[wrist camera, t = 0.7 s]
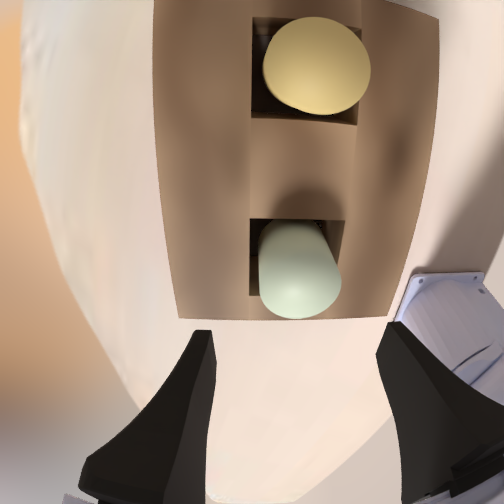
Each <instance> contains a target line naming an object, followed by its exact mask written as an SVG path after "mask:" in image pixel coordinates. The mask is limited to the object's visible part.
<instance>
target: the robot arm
mask: <svg viewBox="0 0 504 504" xmlns="http://www.w3.org/2000/svg"><path fill="white" fill-rule="evenodd" d="M484 277H485V274H484V273H483V272H464V273H434V274H414V275H413V276H412V277H411V278H410V281H409V284H408V287H407V289H406V292H405V295H404V297H403V300H402V303H401V305H400V308H399V310H398V313H397V315H396V318H395V320H394V322H388V323H387V326H386V329H385V332H384V334H383V337H382V339H381V342H380V344H379V347H378V349H377V352H376V359H377V364H378V368H379V373H380V377H381V380H382V383H383V386H384V389H385V392H386V395H387V398H388V401H389V404H390V407H391V410H392V413H393V416H394V419H395V423H396V429H397V434H398V440H399V447H400V456H401V472H402V495H401V501H402V504H414V503H415V504H504V309H503V308H502V307H501V305H500V304H499V303H498V302H497V300H496V299H495V298H494V297H493V295H492V294H491V293H490V292H489V290H488V289H487V288H486V287H485V286H484V284H483V283H482V282H483V280H484ZM420 279H421V280H420ZM419 280H420V281H419ZM216 366H217V361H216V355H215V349H214V343H213V337H212V331H211V330H195V331H194V332H193V334H192V337H191V339H190V341H189V343H188V345H187V346H186V348H185V350H184V352H183V354H182V355H181V357H180V359H179V360H178V362H177V364H176V365H175V367H174V369H173V370H172V372H171V373H170V375H169V376H168V378H167V379H166V381H165V382H164V383H163V385H162V386H161V388H160V389H159V390H158V392H157V393H156V394H155V396H154V397H153V398H152V399H151V401H150V402H149V403H148V404H147V405H146V407H145V408H144V409H143V410H142V411H141V412H140V413H139V414H138V416H136V417H135V418H134V419H133V420H132V422H131V423H130V424H129V425H127V426H126V427H125V428H124V429H123V430H122V431H121V432H120V433H118V434H117V435H116V436H115V437H114V438H113V439H111V440H110V441H109V442H108V443H106V444H105V445H104V446H102V447H101V448H100V449H98V450H97V451H95V452H94V453H93V454H91V455H90V456H88V457H87V459H86V461H85V464H84V466H83V468H82V472H81V476H80V480H79V484H78V487H79V489H80V490H81V491H83V492H85V493H86V494H88V495H90V496H93V497H94V498H96V499H98V504H205V472H206V446H207V434H208V427H209V421H210V415H211V409H212V403H213V397H214V391H215V385H216ZM430 497H431V498H430ZM425 499H426V500H425ZM422 500H423V501H422ZM417 502H418V503H417ZM62 504H93V503H90V502H88V501H85V500H82V499H80V498H77V497H74V496H72V495H69V494H64V499H63V503H62Z"/></svg>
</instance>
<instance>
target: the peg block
mask: <svg viewBox="0 0 504 504" xmlns="http://www.w3.org/2000/svg"><path fill="white" fill-rule="evenodd" d="M306 17H322V18H327V19H330V20H333V21H336V22H338V23H340V24H342V25H344V26H345V27H347V28H348V29H350V30H351V31H352V32H353V33H354V34H355V35H356V36H357V37H358V38H359V39H360V41H361V42H362V44H363V45H364V47H365V49H366V51H367V53H368V56H369V60H370V66H371V74H370V80H369V84H368V87H367V89H366V91H365V93H364V94H363V96H362V97H361V98H360V100H359V101H357V102H356V103H355V104H354V105H353V106H351V107H350V108H348V109H346V110H344V111H341V112H339V113H334V114H333V117H330V116H320V115H308V114H293V113H272V112H251V76H252V35H275V34H276V33H277V32H278V31H279V30H280V29H281V28H282V27H283V26H285V25H286V24H288V23H290V22H292V21H294V20H297V19H300V18H306ZM438 83H439V19H437V18H434V17H432V16H429V15H427V14H424V13H421V12H419V11H416V10H413V9H410V8H407V7H404V6H401V5H398V4H395V3H392V2H388V1H385V0H154V14H153V107H154V127H155V143H156V156H157V168H158V179H159V189H160V198H161V207H162V215H163V223H164V231H165V238H166V245H167V252H168V259H169V265H170V271H171V277H172V283H173V289H174V294H175V300H176V305H177V311H178V316H179V318H186V319H212V320H318V319H344V318H364V317H379V316H387V314H388V312H389V309H390V306H391V304H392V301H393V298H394V295H395V293H396V290H397V287H398V284H399V281H400V278H401V275H402V272H403V269H404V265H405V262H406V259H407V256H408V252H409V249H410V245H411V242H412V238H413V235H414V231H415V227H416V223H417V219H418V215H419V211H420V207H421V202H422V198H423V193H424V188H425V184H426V179H427V173H428V168H429V162H430V156H431V150H432V143H433V136H434V128H435V119H436V110H437V98H438ZM250 218H270V219H315V220H323V223H322V233H323V235H324V238H325V240H326V242H327V244H328V247H329V249H330V251H331V253H332V256H333V258H334V260H335V263H336V265H337V268H338V270H339V272H340V275H341V289H340V292H339V294H338V296H337V298H336V300H335V301H334V302H333V303H332V304H331V305H330V306H329V307H328V308H327V309H326V310H324V311H322V312H321V313H319V314H317V315H314V316H311V317H307V318H302V319H291V318H285V317H281V316H279V315H276V314H275V313H273V312H271V311H270V310H269V309H268V308H267V307H266V306H265V305H264V303H263V301H262V299H261V296H260V287H259V261H258V256H249V237H250Z"/></svg>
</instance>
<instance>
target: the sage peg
mask: <svg viewBox="0 0 504 504" xmlns="http://www.w3.org/2000/svg"><path fill="white" fill-rule="evenodd" d="M258 261H259V287H260V296H261V299H262V301H263V303H264V305H265V306H266V307H267V308H268V309H269V310H270V311H271V312H273V313H275V314H276V315H279V316H281V317H285V318H291V319H302V318H307V317H311V316H314V315H317V314H319V313H321V312H322V311H324V310H326V309H327V308H328V307H329V306H330V305H331V304H332V303H333V302H334V301H335V300H336V298H337V296H338V294H339V292H340V289H341V275H340V272H339V270H338V268H337V265H336V263H335V260H334V258H333V256H332V253H331V251H330V249H329V247H328V244H327V242H326V240H325V238H324V235H323V233H322V231H321V229H320V227H319V226H318V225H317V224H316V223H315V222H314V221H312V220H311V219H275V220H273V221H271V222H270V223H269V224H268V225H267V226H266V227H265V228H264V229H263V231H262V232H261V234H260V237H259V240H258Z"/></svg>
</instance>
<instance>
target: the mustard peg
mask: <svg viewBox="0 0 504 504" xmlns="http://www.w3.org/2000/svg"><path fill="white" fill-rule="evenodd" d="M370 74H371V66H370V60H369V56H368V53H367V51H366V49H365V47H364V45H363V44H362V42H361V41H360V39H359V38H358V37H357V36H356V35H355V34H354V33H353V32H352V31H351V30H350V29H348V28H347V27H345V26H344V25H342V24H340V23H338V22H336V21H333V20H330V19H327V18H322V17H306V18H300V19H297V20H294V21H292V22H290V23H288V24H286V25H285V26H283V27H282V28H281V29H280V30H279V31H278V32H277V33H276V34H275V35H274V36H273V38H272V40H271V41H270V44H269V46H268V49H267V51H266V54H265V56H264V59H263V63H262V76H263V80H264V83H265V85H266V87H267V89H268V90H269V92H270V93H271V94H272V95H273V96H274V97H275V98H276V99H278V100H279V101H280V102H282V103H284V104H286V105H289V106H291V107H294V108H297V109H299V110H302V111H304V112H308V113H312V114H318V115H327V114H334V113H339V112H341V111H344V110H346V109H348V108H350V107H351V106H353V105H354V104H355V103H356V102H357V101H359V100H360V98H361V97H362V96H363V94H364V93H365V91H366V89H367V87H368V84H369V80H370Z"/></svg>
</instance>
